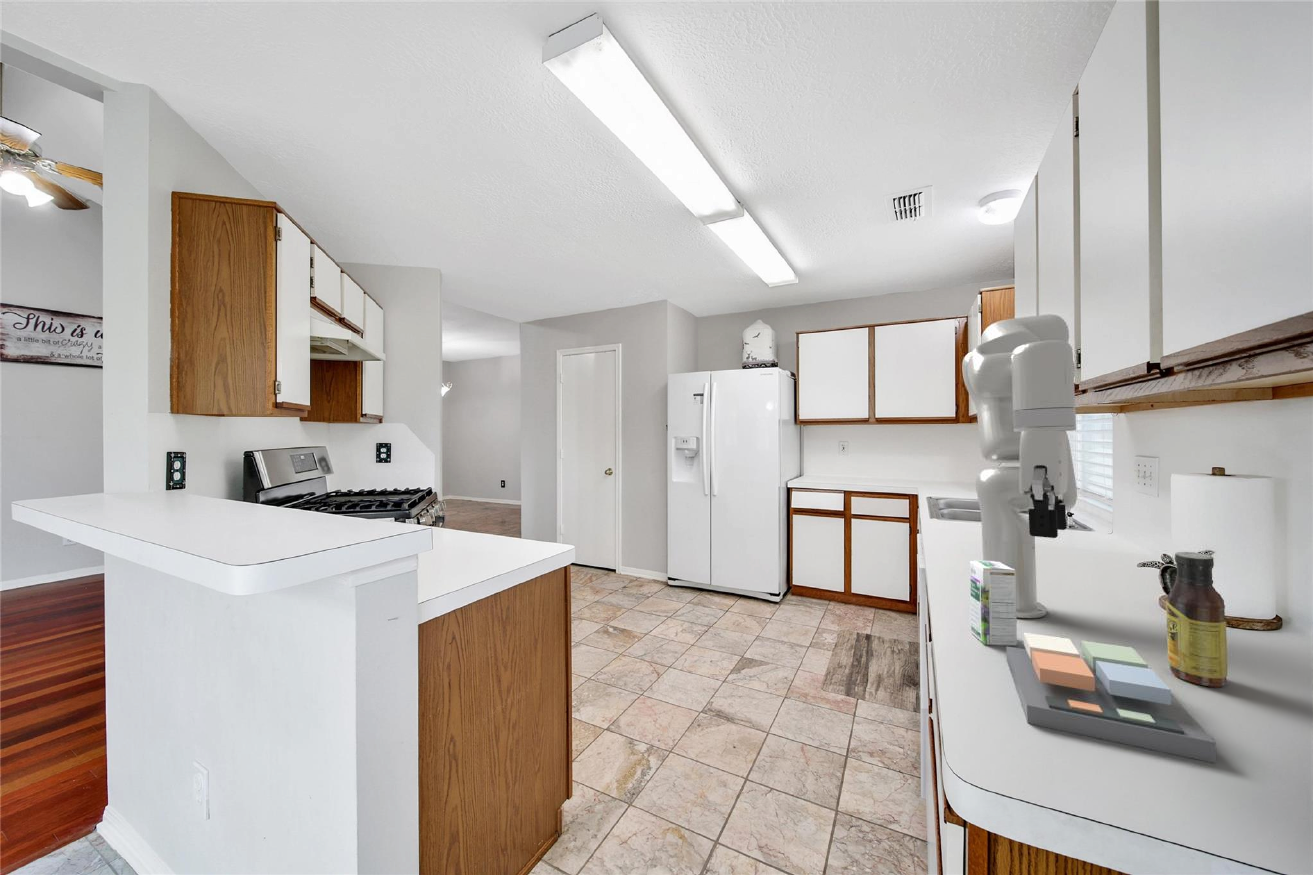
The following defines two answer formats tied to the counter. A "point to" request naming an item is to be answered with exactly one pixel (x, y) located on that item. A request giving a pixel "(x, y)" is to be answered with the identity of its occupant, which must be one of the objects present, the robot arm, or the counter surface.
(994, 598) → the syrup box
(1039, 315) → the robot arm
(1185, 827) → the counter surface
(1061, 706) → the keypad
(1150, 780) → the counter surface
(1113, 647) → the sage key
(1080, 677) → the terracotta key
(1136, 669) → the blue key
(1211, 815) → the counter surface
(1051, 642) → the cream key
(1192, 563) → the sauce bottle
